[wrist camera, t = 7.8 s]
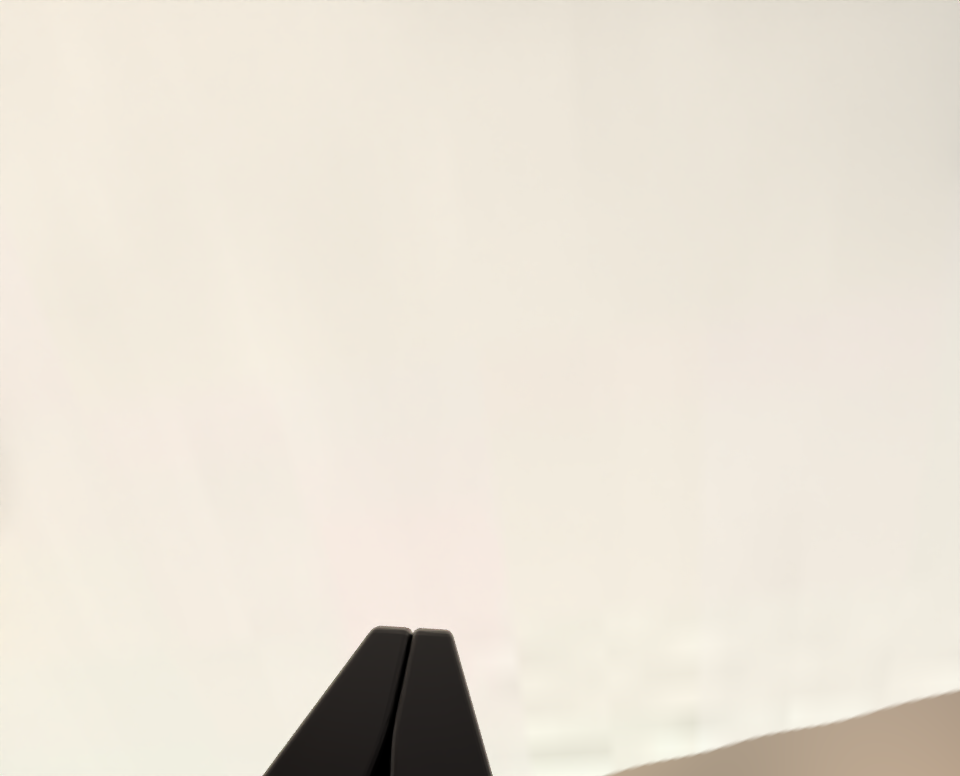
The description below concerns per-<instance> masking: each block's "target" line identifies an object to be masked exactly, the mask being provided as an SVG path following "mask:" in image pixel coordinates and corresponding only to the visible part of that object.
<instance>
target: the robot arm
mask: <svg viewBox="0 0 960 776" xmlns="http://www.w3.org/2000/svg"><path fill="white" fill-rule="evenodd" d="M263 776H493V775H492V772H491V768H490V765H489V761H488V758H487V754H486V751H485V747H484V743H483V740H482V736H481V733H480V729H479V726H478V722H477V719H476V715H475V712H474V708H473V705H472V701H471V697H470V694H469V690H468V687H467V683H466V680H465V676H464V673H463V669H462V666H461V662H460V658H459V655H458V651H457V648H456V644H455V641H454V637H453V635H452V633H451V632H450V631H448V630H443V629H426V628H419V629H417V630H415V631H414V633H412V631H411V630H410V629H409V628H406V627H391V626H377V627H375V628H373V629H372V630H371V631H370V633H369V634H368V635H367V636H366V638H365V639H364V640H363V642H362V643H361V644H360V646H359V647H358V648H357V650H356V651H355V652H354V654H353V655H352V656H351V658H350V659H349V661H348V662H347V663H346V665H345V666H344V667H343V669H342V670H341V671H340V673H339V674H338V675H337V677H336V678H335V679H334V681H333V682H332V683H331V685H330V686H329V687H328V689H327V690H326V691H325V693H324V694H323V695H322V697H321V698H320V699H319V701H318V702H317V703H316V705H315V706H314V708H313V709H312V710H311V712H310V713H309V714H308V716H307V717H306V718H305V720H304V721H303V722H302V724H301V725H300V726H299V728H298V729H297V730H296V732H295V733H294V734H293V736H292V737H291V738H290V740H289V741H288V742H287V744H286V745H285V746H284V748H283V749H282V750H281V752H280V753H279V754H278V756H277V757H276V759H275V760H274V761H273V763H272V764H271V765H270V767H269V768H268V769H267V771H266V772H265V773H264V775H263Z"/></svg>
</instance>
